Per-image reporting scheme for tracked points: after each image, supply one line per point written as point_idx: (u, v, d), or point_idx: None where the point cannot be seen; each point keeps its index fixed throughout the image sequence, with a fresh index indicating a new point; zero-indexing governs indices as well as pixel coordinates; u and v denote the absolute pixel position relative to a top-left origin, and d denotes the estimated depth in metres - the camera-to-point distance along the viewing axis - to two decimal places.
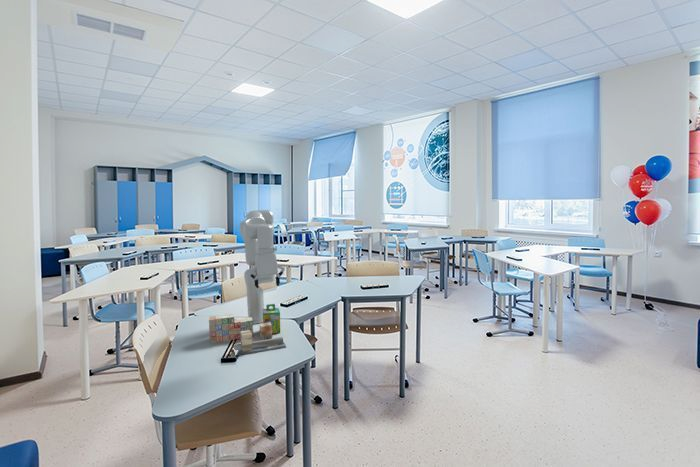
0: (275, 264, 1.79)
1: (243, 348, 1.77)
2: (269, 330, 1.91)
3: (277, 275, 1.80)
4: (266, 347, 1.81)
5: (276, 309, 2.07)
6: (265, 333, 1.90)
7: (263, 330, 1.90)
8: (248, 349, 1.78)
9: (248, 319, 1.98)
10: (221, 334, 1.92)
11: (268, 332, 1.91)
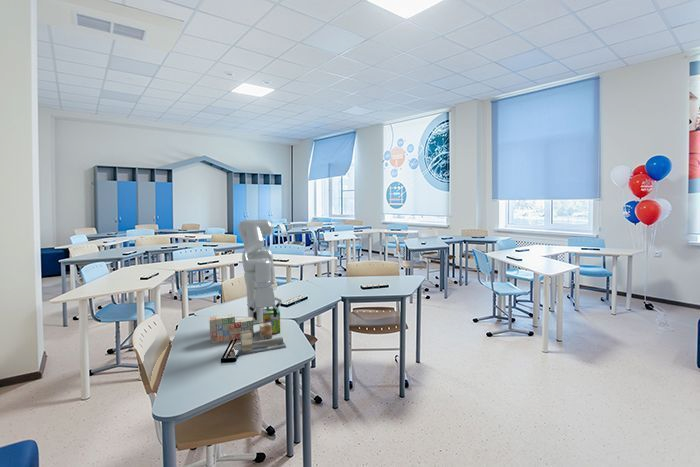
0: (272, 297, 1.90)
1: (243, 348, 1.77)
2: (269, 330, 1.91)
3: (274, 307, 1.92)
4: (266, 347, 1.81)
5: None
6: (265, 333, 1.90)
7: (263, 330, 1.90)
8: (248, 349, 1.78)
9: (248, 319, 1.98)
10: (221, 334, 1.92)
11: (268, 332, 1.91)
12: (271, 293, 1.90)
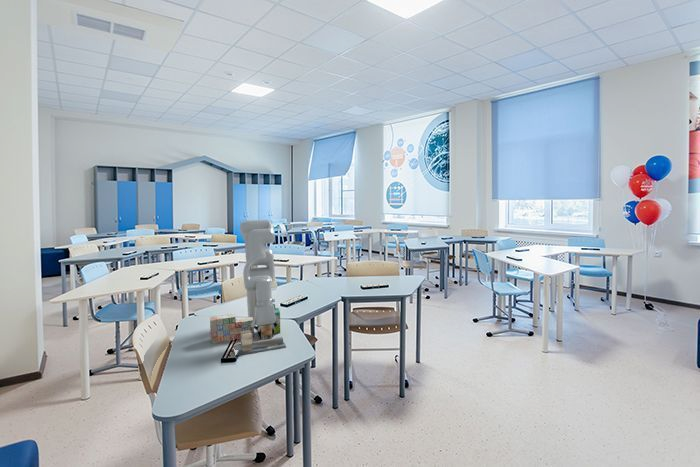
0: (273, 315, 1.92)
1: (243, 348, 1.77)
2: (269, 330, 1.91)
3: (272, 326, 1.93)
4: (266, 347, 1.81)
5: (276, 309, 2.06)
6: (265, 333, 1.90)
7: (263, 330, 1.90)
8: (248, 349, 1.78)
9: (249, 319, 1.98)
10: (222, 334, 1.92)
11: (268, 332, 1.91)
12: (272, 311, 1.91)
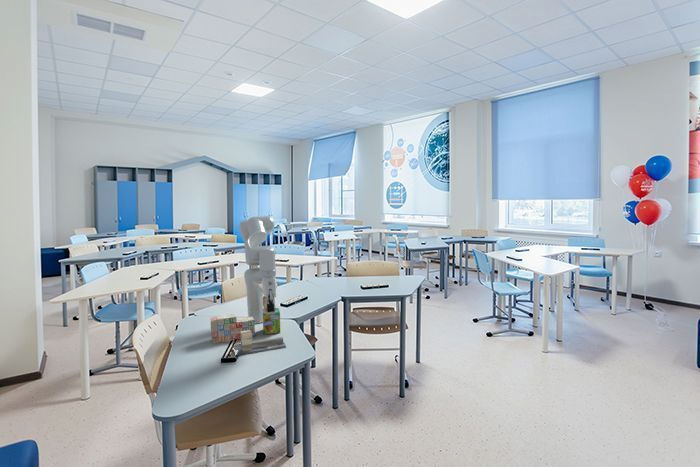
0: (265, 288, 1.78)
1: (243, 348, 1.77)
2: (264, 303, 1.81)
3: (267, 301, 1.80)
4: (266, 347, 1.81)
5: (276, 309, 2.07)
6: (263, 304, 1.83)
7: None
8: (248, 349, 1.78)
9: (249, 319, 1.99)
10: (223, 334, 1.91)
11: (263, 304, 1.81)
12: (264, 284, 1.78)
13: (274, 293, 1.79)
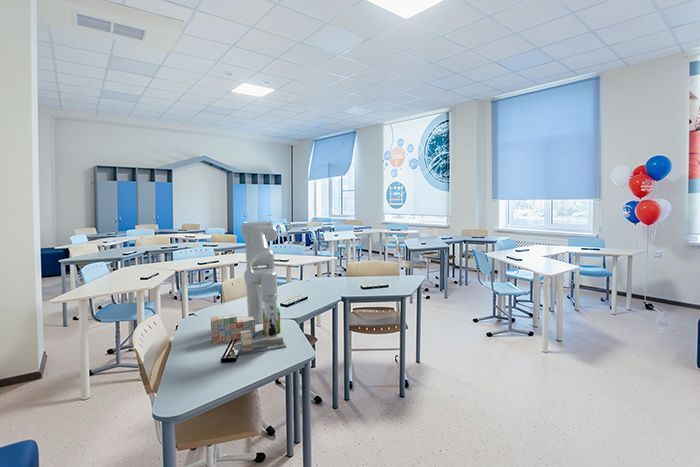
0: (267, 312, 1.78)
1: (243, 348, 1.77)
2: (265, 326, 1.81)
3: (269, 325, 1.80)
4: (266, 347, 1.81)
5: None
6: (265, 328, 1.83)
7: (264, 324, 1.84)
8: (248, 349, 1.78)
9: (250, 318, 1.99)
10: (223, 334, 1.91)
11: (265, 328, 1.82)
12: (266, 308, 1.79)
13: (276, 317, 1.79)
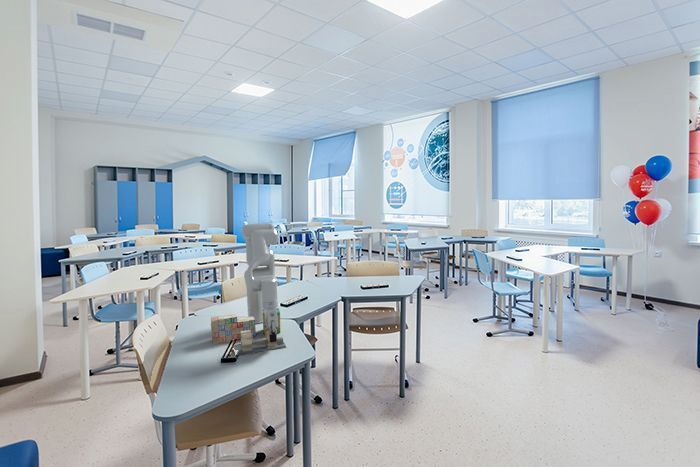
0: (267, 319, 1.79)
1: (243, 348, 1.77)
2: (266, 335, 1.82)
3: None
4: (266, 347, 1.81)
5: None
6: (265, 336, 1.84)
7: (265, 332, 1.84)
8: (248, 349, 1.78)
9: (250, 318, 1.99)
10: (224, 334, 1.91)
11: (266, 336, 1.82)
12: (266, 315, 1.79)
13: (276, 324, 1.79)
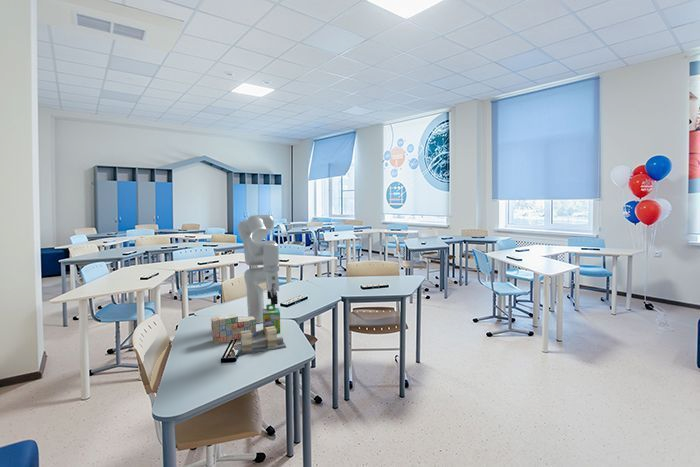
0: (268, 283, 1.82)
1: (243, 348, 1.77)
2: (266, 335, 1.82)
3: (271, 294, 1.82)
4: (266, 347, 1.81)
5: (276, 309, 2.06)
6: (265, 336, 1.84)
7: (265, 332, 1.84)
8: (248, 349, 1.78)
9: (250, 318, 1.99)
10: (225, 334, 1.91)
11: (266, 336, 1.82)
12: (268, 278, 1.82)
13: (277, 287, 1.83)
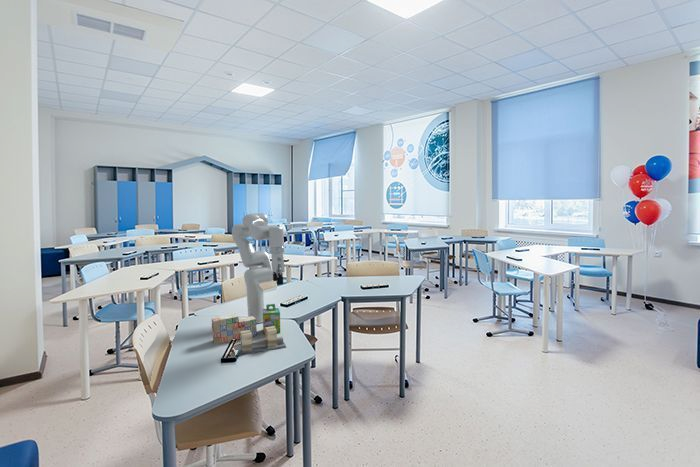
0: (274, 264, 1.91)
1: (243, 348, 1.77)
2: (266, 335, 1.82)
3: (277, 274, 1.91)
4: (266, 347, 1.81)
5: (276, 309, 2.06)
6: (265, 336, 1.84)
7: (265, 332, 1.84)
8: (248, 349, 1.78)
9: (251, 318, 1.99)
10: (226, 334, 1.91)
11: (266, 336, 1.82)
12: (274, 260, 1.91)
13: (283, 268, 1.92)
